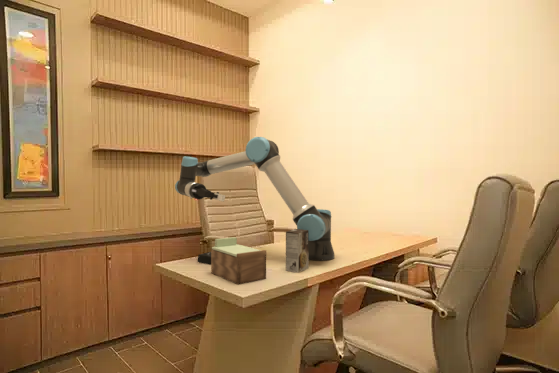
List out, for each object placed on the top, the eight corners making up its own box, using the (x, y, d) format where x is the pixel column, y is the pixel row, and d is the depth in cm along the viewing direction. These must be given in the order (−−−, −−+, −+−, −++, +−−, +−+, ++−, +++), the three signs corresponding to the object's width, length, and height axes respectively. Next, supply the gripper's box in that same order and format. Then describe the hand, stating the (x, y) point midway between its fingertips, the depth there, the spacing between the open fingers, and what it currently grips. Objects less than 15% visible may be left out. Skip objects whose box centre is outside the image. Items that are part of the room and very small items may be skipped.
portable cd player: (222, 257, 168) (222, 248, 168) (250, 261, 159) (250, 252, 159) (197, 263, 154) (197, 254, 154) (226, 268, 145) (226, 259, 145)
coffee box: (295, 266, 148) (295, 228, 148) (308, 268, 145) (309, 229, 145) (284, 270, 141) (285, 230, 140) (298, 272, 137) (299, 232, 137)
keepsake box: (266, 278, 128) (266, 250, 128) (238, 284, 120) (238, 254, 120) (237, 268, 144) (237, 243, 144) (211, 272, 136) (211, 246, 136)
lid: (263, 253, 129) (263, 242, 129) (236, 256, 122) (236, 246, 122) (237, 246, 143) (237, 236, 143) (211, 249, 136) (212, 239, 136)
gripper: (205, 200, 171) (233, 209, 154) (181, 195, 162) (208, 204, 145) (209, 185, 171) (237, 192, 154) (185, 180, 162) (213, 186, 145)
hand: (223, 198), depth 149 cm, fingers closed
